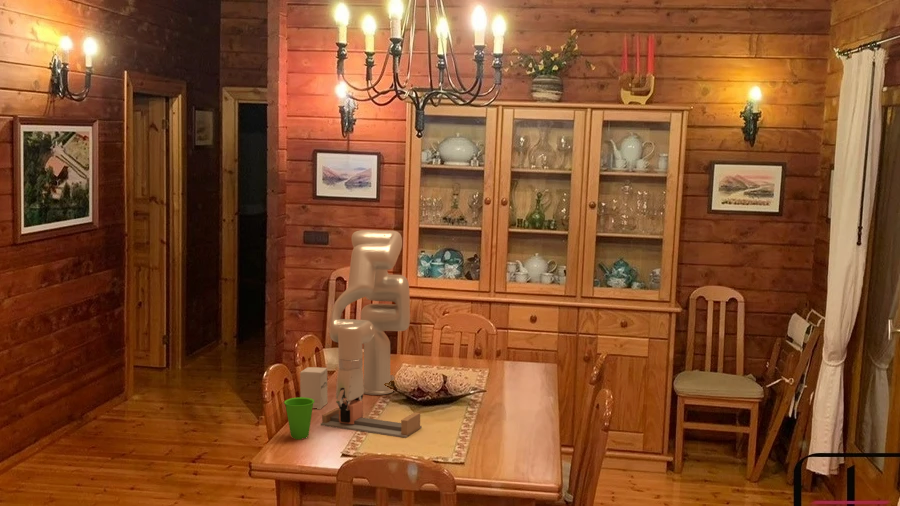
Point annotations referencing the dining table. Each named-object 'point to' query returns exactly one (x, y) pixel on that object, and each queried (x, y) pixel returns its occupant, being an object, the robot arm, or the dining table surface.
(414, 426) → the track
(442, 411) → the dining table surface
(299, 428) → the cup
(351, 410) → the orange cube
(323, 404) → the supplement box
